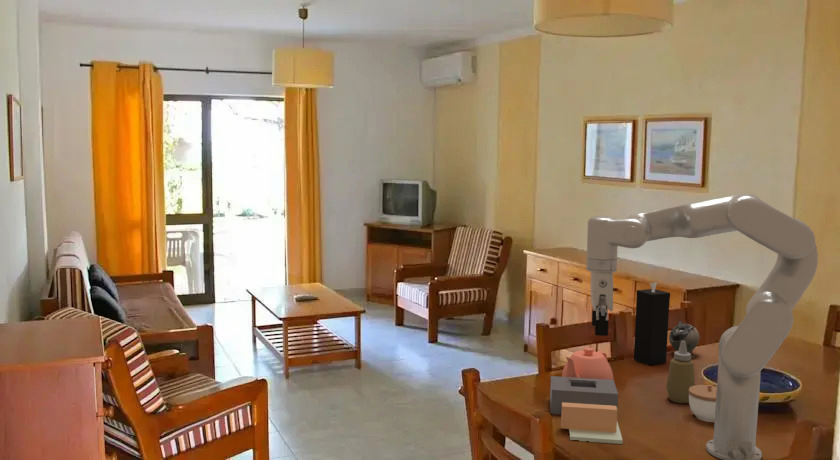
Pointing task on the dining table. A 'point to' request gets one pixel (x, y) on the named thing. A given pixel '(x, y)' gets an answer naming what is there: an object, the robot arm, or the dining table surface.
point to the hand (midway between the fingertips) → (599, 330)
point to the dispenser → (581, 392)
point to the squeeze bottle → (680, 375)
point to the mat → (596, 436)
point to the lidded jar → (703, 401)
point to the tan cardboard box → (589, 417)
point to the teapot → (588, 365)
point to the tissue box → (651, 326)
